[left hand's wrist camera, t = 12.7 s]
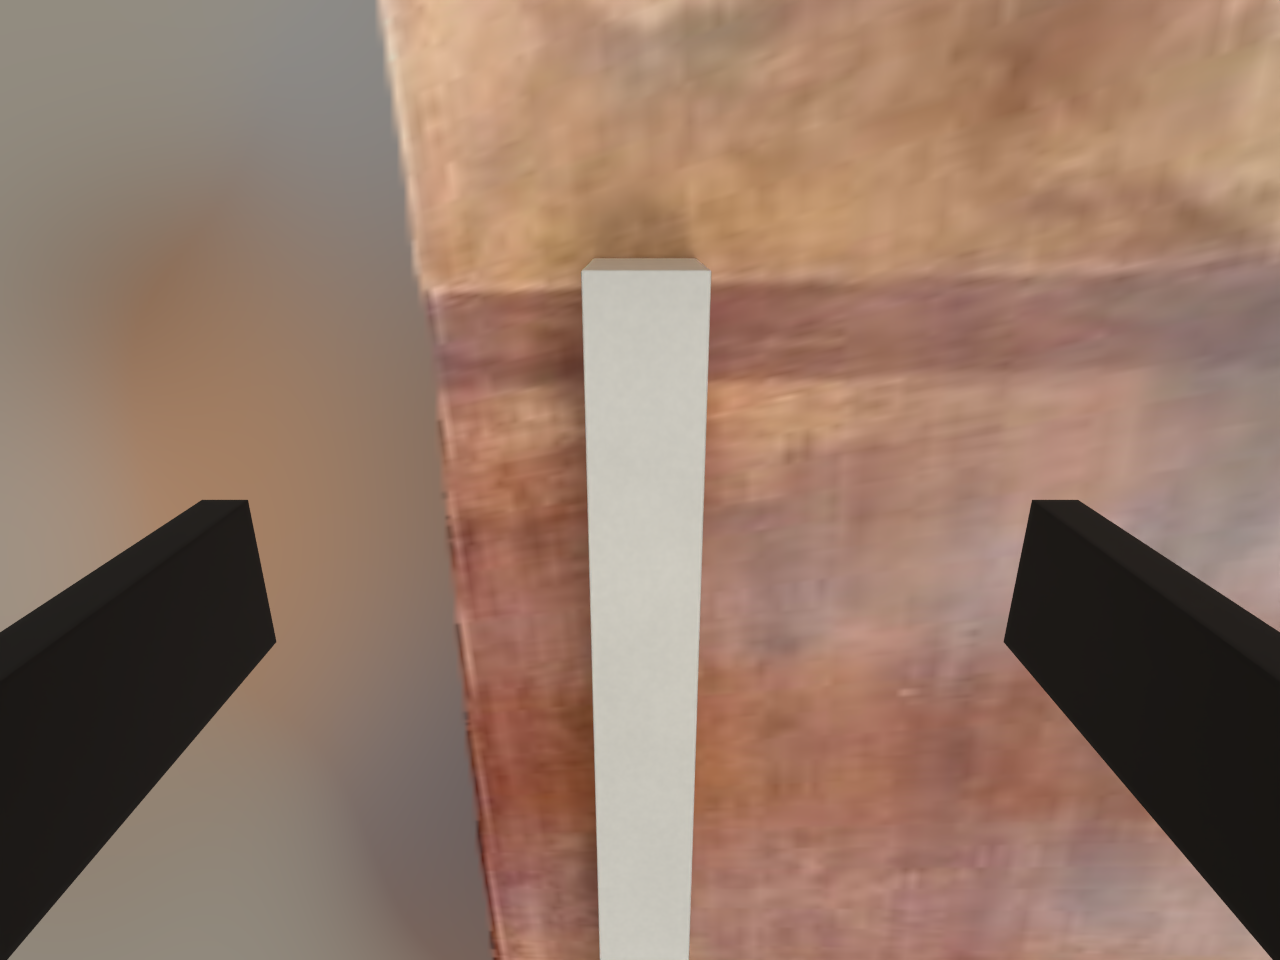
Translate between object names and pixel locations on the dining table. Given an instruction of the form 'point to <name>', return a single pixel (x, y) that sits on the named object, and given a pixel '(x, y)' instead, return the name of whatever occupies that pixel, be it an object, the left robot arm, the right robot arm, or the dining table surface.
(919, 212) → the dining table surface
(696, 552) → the post
